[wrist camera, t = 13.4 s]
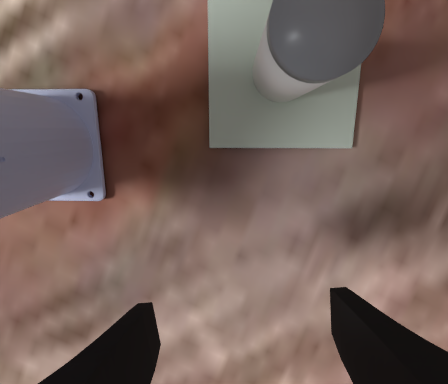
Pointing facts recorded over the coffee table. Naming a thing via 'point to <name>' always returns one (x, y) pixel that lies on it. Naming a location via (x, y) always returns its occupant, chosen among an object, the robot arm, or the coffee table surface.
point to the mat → (256, 103)
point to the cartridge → (313, 44)
